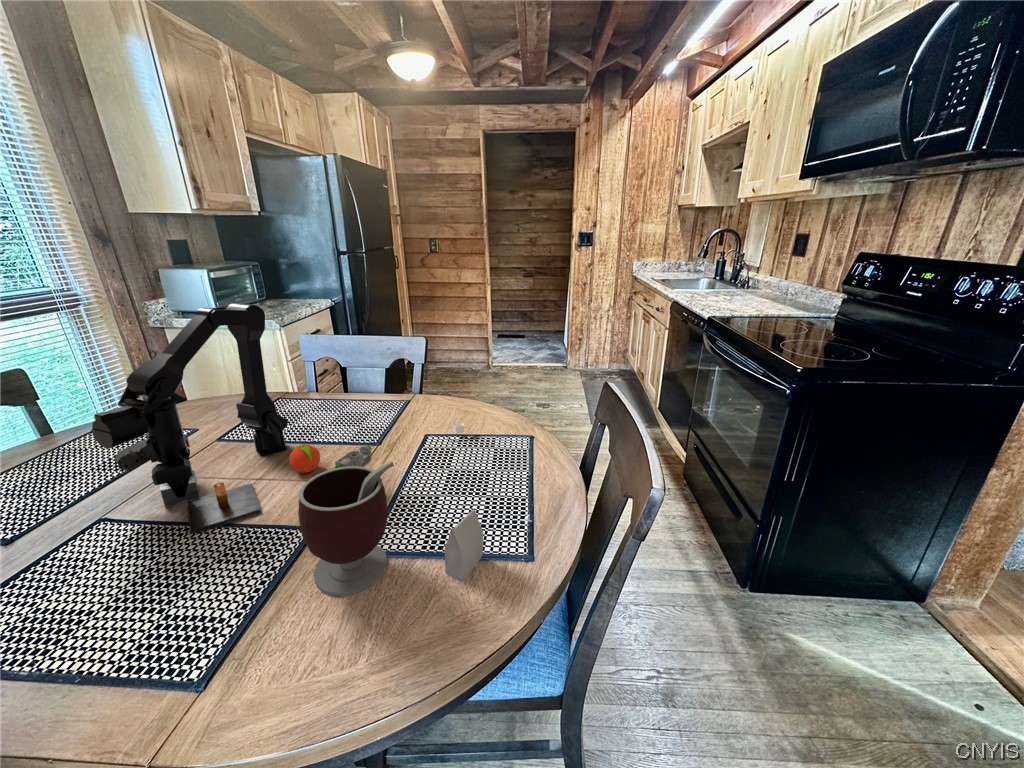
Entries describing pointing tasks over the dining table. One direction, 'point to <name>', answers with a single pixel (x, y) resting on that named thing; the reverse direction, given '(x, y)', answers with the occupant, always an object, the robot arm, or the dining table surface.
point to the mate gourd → (345, 527)
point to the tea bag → (464, 547)
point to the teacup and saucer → (458, 428)
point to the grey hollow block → (190, 493)
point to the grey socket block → (222, 507)
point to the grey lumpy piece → (355, 458)
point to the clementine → (304, 458)
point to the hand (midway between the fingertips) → (181, 490)
